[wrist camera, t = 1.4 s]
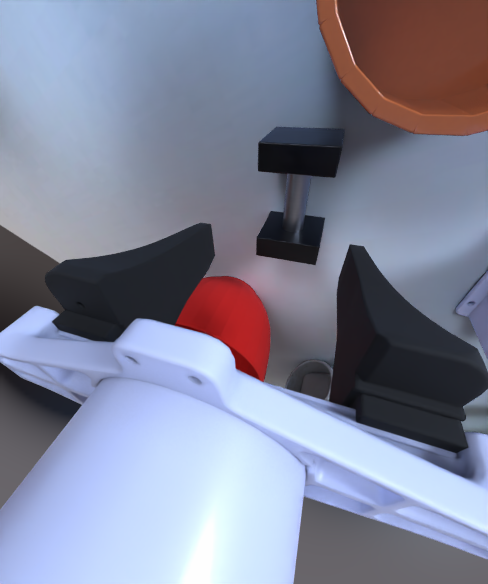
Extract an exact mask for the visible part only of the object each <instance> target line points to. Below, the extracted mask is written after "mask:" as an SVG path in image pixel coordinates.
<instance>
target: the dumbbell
mask: <svg viewBox="0 0 488 584" xmlns="http://www.w3.org/2000/svg"><path fill="white" fill-rule="evenodd" d="M343 138H344V129H326V128H299V127H276V128H274V129H273V130H272V131H271V132H270V133H269V134H267V135H266V136H265V137H264V138H263V139H262V140H261V141H259V143H258V171H260V172H272V173H284V174H287V184H286V194H285V205H284V213H282V212H273V211H271V212H270V214H269V216H268V218H267V220H266V222H265V223H264V225H263V227H262V229H261V231H260V233H259V234H258V236H257V248H256V255H259V256H265V257H271V258H277V259H283V260H289V261H295V262H301V263H306V264H312V265H316V261H317V256H318V252H319V248H320V242H321V237H322V231H323V226H324V221H325V218H322V217H314V216H306V215H305V212H306V206H307V200H308V193H309V187H310V181H311V176H320V177H332V178H334V177H336V173H337V168H338V164H339V160H340V155H341V151H342V146H343Z"/></svg>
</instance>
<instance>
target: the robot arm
mask: <svg viewBox="0 0 488 584" xmlns="http://www.w3.org/2000/svg"><path fill="white" fill-rule="evenodd" d="M214 256H215V252H214V244H213V236H212V229H211V224H206V223H199V224H196V225H193V226H191V227H189V228H187V229H184V230H182V231H180V232H178V233H176V234H174V235H171V236H169V237H167V238H164V239H162V240H159V241H157V242H155V243H152V244H149V245H146V246H143V247H140V248H137V249H133V250H129V251H125V252H121V253H116V254H111V255H106V256H99V257H92V258H82V259H71V260H65V261H63V262H62V263H60V264H59V265H58V266H56V267H55V268H53V269H52V270H50V271H49V272H48V273H47V274H46V275H45V282H46V285H47V287H48V288H49V290H50V291H51V293H52V294H53V295H54V296H55V298H56V299H57V300H58V301H59V302H60V304H61V305H62V307H63V308H64V309H65V311H63V312H62V313H61V314H59V313H57V312H56V311H53V310H50V309H46V308H43V307H40V306H34V307H33V308H32V309H30V310H29V311H28V312H27V313H25V314H24V315H23V316H21V317H20V318H19V319H17V320H16V321H15V322H14V323H12V324H11V325H10V326H9V327H7V328H6V329H5V330H3V331H2V332H1V333H0V362H1V363H2V364H4V365H5V366H7V367H8V368H9V369H11V370H12V371H13V372H15V373H16V374H17V375H19V376H20V377H21V378H23V379H26V380H29V381H31V382H33V383H36V384H38V385H41V386H43V387H45V388H47V389H50V390H52V391H54V392H57V393H59V394H61V395H63V396H65V397H67V398H69V399H71V400H73V401H75V402H78V403H80V404H82V406H81V407H80V409H79V410H78V411H77V413H76V414H75V415H74V416H73V418H72V419H71V420H70V421H69V423H68V424H67V425H66V427H65V428H64V429H63V430H62V432H61V433H60V434H59V435H58V437H57V438H56V439H55V441H54V442H53V443H52V444H51V446H50V447H49V448H48V449H47V451H46V452H45V453H44V455H43V456H42V457H41V458H40V460H39V461H38V462H37V463H36V465H35V466H34V467H33V469H32V470H31V471H30V473H29V474H28V475H27V476H26V478H25V479H24V480H23V481H22V483H21V484H20V485H19V487H18V488H17V489H16V490H15V492H14V493H13V494H12V495H11V497H10V498H9V499H8V500H7V502H6V503H5V504H4V506H3V507H2V508H1V509H0V584H293V581H294V573H295V564H296V555H297V547H298V539H299V530H300V521H301V512H302V504H303V496H304V497H307V498H310V499H314V500H316V501H319V502H322V503H325V504H329V505H332V506H335V507H338V508H341V509H344V510H347V511H350V512H353V513H356V514H359V515H362V516H365V517H368V518H371V519H374V520H378V521H380V522H383V523H386V524H389V525H392V526H395V527H398V528H401V529H404V530H407V531H410V532H413V533H416V534H419V535H422V536H425V537H428V538H430V539H433V540H436V541H439V542H442V543H444V544H447V545H450V546H453V547H455V548H458V549H461V550H464V551H466V552H469V553H471V554H474V555H477V556H479V557H482V558H484V559H487V560H488V435H486V434H482V433H478V432H464V430H463V427H462V424H461V421H464V420H465V419H466V415H465V412H464V409H463V406H464V405H466V404H467V403H469V402H471V401H472V400H474V399H475V398H477V397H478V396H480V395H481V394H482V393H483V392H484V391H486V390H487V389H488V371H487V369H486V366H485V364H484V361H483V359H482V357H481V355H480V353H479V351H478V349H477V348H475V347H474V346H472V345H470V344H468V343H467V342H465V341H463V340H462V339H460V338H458V337H456V336H455V335H453V334H451V333H450V332H448V331H446V330H445V329H443V328H442V327H440V326H439V325H437V324H436V323H434V322H433V321H432V320H430V319H429V318H427V317H426V316H425V315H423V314H422V313H421V312H420V311H418V310H417V309H416V308H415V307H413V306H412V305H411V304H410V303H409V302H408V301H407V300H405V299H404V298H403V297H402V296H401V295H400V294H399V293H398V292H397V291H396V290H395V289H394V288H393V287H392V285H391V284H390V283H389V282H388V281H387V280H386V278H385V277H384V276H383V275H382V273H381V272H380V271H379V269H378V268H377V266H376V265H375V263H374V262H373V260H372V259H371V257H370V256H369V254H368V252H367V251H366V249H365V248H364V246H357V245H350V246H349V249H348V252H347V255H346V258H345V261H344V264H343V267H342V270H341V273H340V276H339V282H338V289H337V341H336V350H335V359H334V367H333V375H332V382H331V389H330V396H329V401H325V400H322V399H319V398H315V397H312V396H309V395H305V394H302V393H299V392H295V391H292V390H289V389H285V388H282V387H279V386H275V385H272V384H268V383H265V382H262V381H260V380H258V379H256V378H254V377H252V376H250V375H248V374H246V373H244V372H241V371H239V370H237V369H236V368H235V359H234V357H233V355H232V352H231V350H230V349H229V347H228V346H226V345H225V344H224V343H223V342H221V341H220V340H219V339H217V338H214V337H212V336H210V335H207V334H204V333H200V332H197V331H193V330H189V329H185V328H182V327H178V326H175V324H176V322H177V320H178V318H179V315H180V314H181V312H182V310H183V308H184V306H185V304H186V302H187V300H188V299H189V297H190V296H191V294H192V293H193V291H194V290H195V288H196V287H197V286H198V284H199V283H200V281H201V280H202V278H203V277H204V275H205V274H206V272H207V271H208V269H209V267H210V265H211V263H212V261H213V259H214ZM471 301H473V302H471ZM468 302H471V303H468ZM456 312H457V314H459V315H463V316H468V317H469V319H470V321H471V323H472V325H473V328H474V330H475V332H476V334H477V337H478V339H479V341H480V344H481V346H482V348H483V350H484V353H485V355H486V357H487V359H488V271H487V272H486V273H485V275H484V276H483V277H482V278H481V279H480V280H479V282H478V283H477V284H476V285H475V286H474V287H473V289H472V290H471V291H470V292H469V293H468V294H467V296H466V297H465V298H464V299H463V300H462V301H461V303H460V304H459V305H458V306H457V307H456Z"/></svg>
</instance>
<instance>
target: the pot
mask: <svg viewBox="0 0 488 584" xmlns="http://www.w3.org/2000/svg"><path fill="white" fill-rule="evenodd" d="M316 5H317V15H318V24H319V26H320V32H321V34H322V37H323V39H324V42H325V44H326V47H327V50H328V52H329V55H330V57H331V60H332V63H333V65H334V68H335V70H336V73H337V76H338V78H339V79H340V81H341V83H342V84H343V85H344V86H345V87H346V89H347V90H348V91H349V92H350V93H351V94H352V95H353V96H354V97H355V99H356V100H357V101H358V102H359V103H360V104H361V105H362V106H363V107H364V109H365V110H366V111H367V112H368V113H369V114H372V116H373V117H375V118H378V119H380V120H382V121H384V122H387V123H389V124H391V125H393V126H396V127H398V128H400V129H403V130H405V131H407V132H409V133H413V134H427V135H452V136H465V135H466V136H468V135H472V134H476V133H480V132H484V131H488V0H316Z"/></svg>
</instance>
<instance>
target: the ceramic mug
mask: <svg viewBox="0 0 488 584" xmlns="http://www.w3.org/2000/svg"><path fill="white" fill-rule="evenodd" d="M332 375H333V369H332V368H331V367H330V366H329V365H328V364H327V363H325V362H323V361H321V360H309V361H306V362H303V363H302V364H300V365H299V366H297V367H296V368H295V369H294V370H293V371H292V373H291V374H290V376H289V378H288V380H287V382H286V385H285V389H289V390H292V391H295V392H299V393H302V394H305V395H309V396H312V397H315V398H319V399H322V400H325V401H329V396H330V389H331V382H332Z"/></svg>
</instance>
